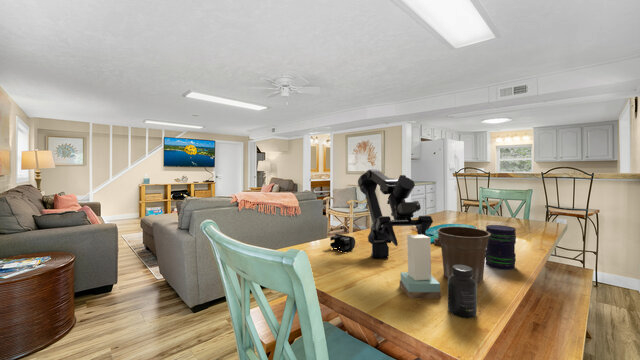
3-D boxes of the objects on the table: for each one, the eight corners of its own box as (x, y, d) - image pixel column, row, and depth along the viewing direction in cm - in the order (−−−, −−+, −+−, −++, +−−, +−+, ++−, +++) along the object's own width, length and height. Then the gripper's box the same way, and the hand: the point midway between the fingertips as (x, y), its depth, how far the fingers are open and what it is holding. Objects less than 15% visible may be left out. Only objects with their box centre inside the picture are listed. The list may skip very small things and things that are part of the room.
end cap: (355, 250, 131) (355, 235, 131) (346, 253, 126) (346, 238, 126) (339, 246, 138) (339, 232, 138) (329, 249, 133) (329, 235, 133)
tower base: (410, 301, 81) (410, 292, 81) (399, 288, 90) (399, 280, 90) (440, 299, 82) (440, 291, 82) (426, 286, 91) (426, 279, 91)
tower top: (408, 292, 82) (409, 283, 82) (400, 279, 91) (400, 272, 91) (440, 292, 82) (440, 283, 81) (428, 279, 90) (428, 272, 90)
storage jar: (486, 268, 106) (486, 228, 106) (483, 260, 115) (484, 224, 115) (518, 271, 102) (518, 231, 101) (512, 263, 111) (513, 226, 110)
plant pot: (469, 290, 86) (469, 239, 86) (427, 273, 101) (427, 229, 100) (500, 280, 94) (501, 233, 93) (457, 266, 108) (457, 224, 108)
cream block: (415, 280, 83) (414, 238, 83) (408, 275, 88) (407, 235, 88) (431, 279, 84) (430, 237, 84) (423, 274, 89) (422, 234, 89)
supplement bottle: (442, 306, 77) (442, 263, 76) (466, 305, 77) (466, 262, 77) (456, 320, 70) (457, 272, 69) (482, 318, 70) (483, 271, 70)
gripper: (378, 193, 96) (388, 232, 85) (430, 192, 97) (447, 231, 87) (372, 212, 104) (380, 250, 94) (420, 211, 106) (434, 248, 95)
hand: (410, 245), depth 92 cm, fingers open, 9 cm apart
